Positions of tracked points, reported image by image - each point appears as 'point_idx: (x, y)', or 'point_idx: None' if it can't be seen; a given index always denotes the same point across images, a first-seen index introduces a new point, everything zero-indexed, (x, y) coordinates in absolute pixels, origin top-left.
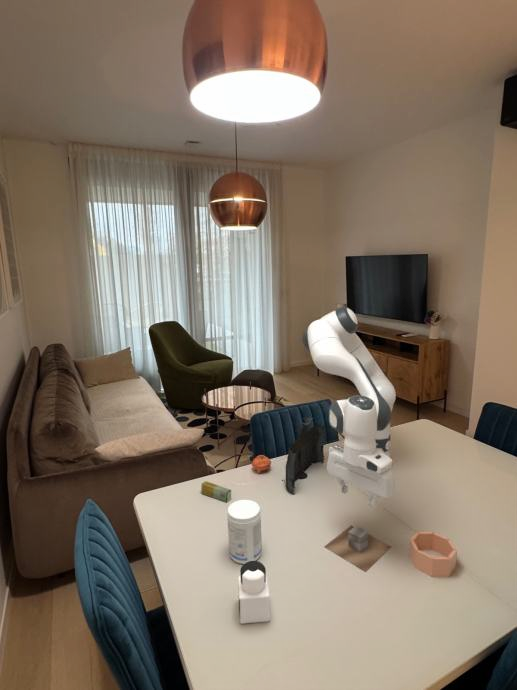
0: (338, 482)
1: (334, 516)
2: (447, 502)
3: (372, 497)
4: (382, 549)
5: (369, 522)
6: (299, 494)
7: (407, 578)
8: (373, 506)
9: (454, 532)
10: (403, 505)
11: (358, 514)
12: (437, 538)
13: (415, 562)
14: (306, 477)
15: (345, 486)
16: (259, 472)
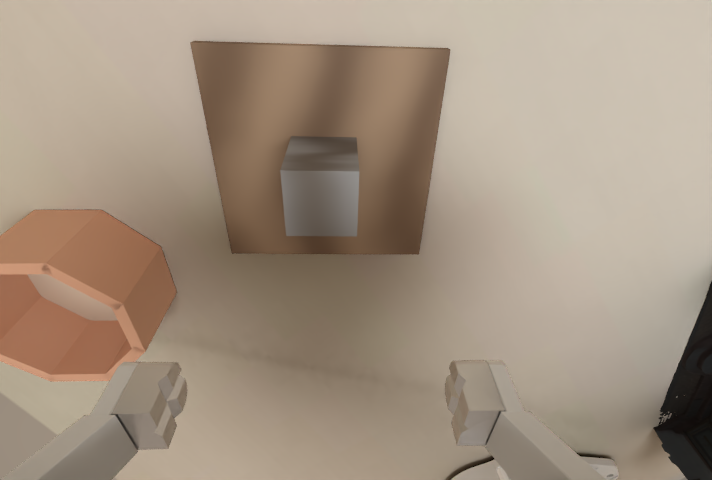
0: (572, 454)
1: (505, 257)
2: (262, 469)
3: (162, 448)
4: (244, 219)
5: (376, 306)
6: (700, 274)
7: (77, 151)
8: (124, 367)
9: None
10: (339, 414)
11: (430, 316)
12: (93, 364)
13: (82, 228)
14: (700, 358)
15: (476, 434)
16: None
